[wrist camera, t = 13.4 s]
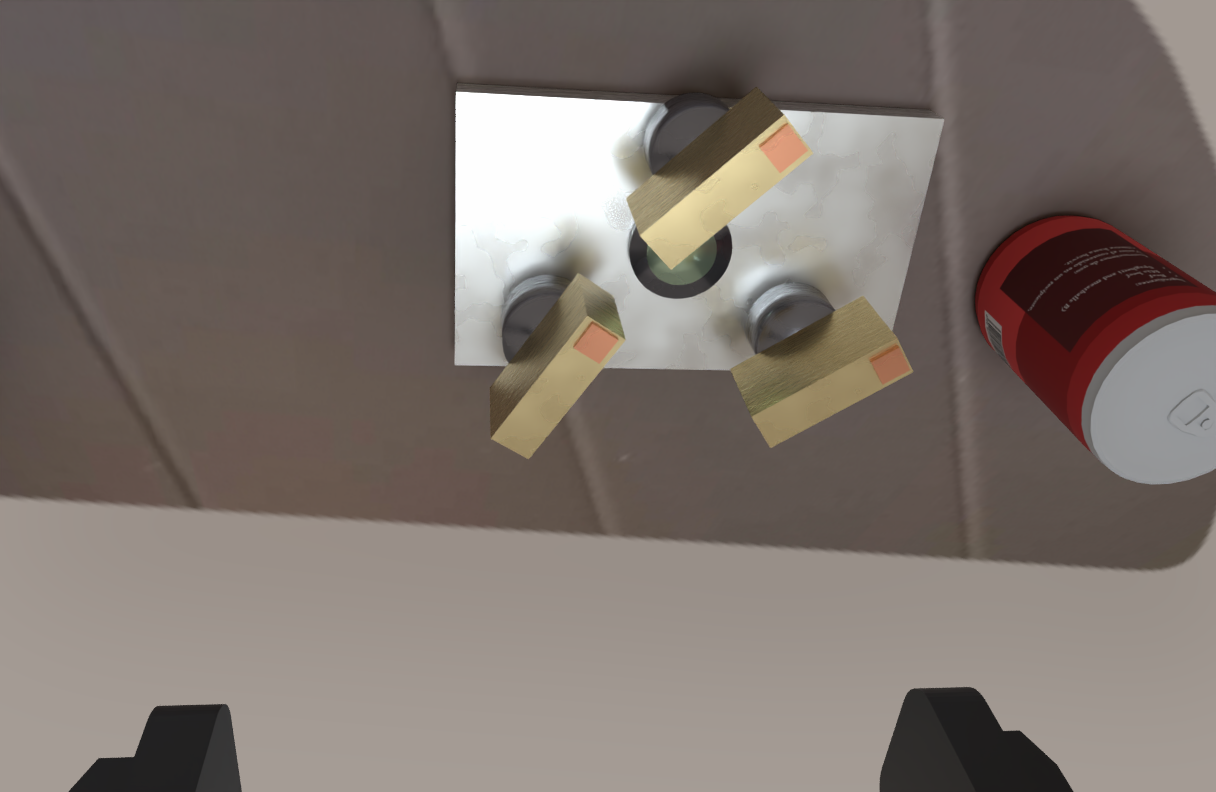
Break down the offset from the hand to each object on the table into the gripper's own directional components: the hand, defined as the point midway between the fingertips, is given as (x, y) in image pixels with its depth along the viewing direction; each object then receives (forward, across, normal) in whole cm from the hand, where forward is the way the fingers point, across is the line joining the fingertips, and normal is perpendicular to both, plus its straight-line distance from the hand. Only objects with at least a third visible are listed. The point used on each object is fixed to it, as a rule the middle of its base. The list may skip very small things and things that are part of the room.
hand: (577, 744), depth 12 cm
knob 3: (+31, -13, +9) cm, 35 cm away
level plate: (+33, -8, +6) cm, 34 cm away
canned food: (+33, -26, +8) cm, 43 cm away
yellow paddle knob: (+31, -8, +1) cm, 32 cm away
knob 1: (+32, -2, +9) cm, 33 cm away
